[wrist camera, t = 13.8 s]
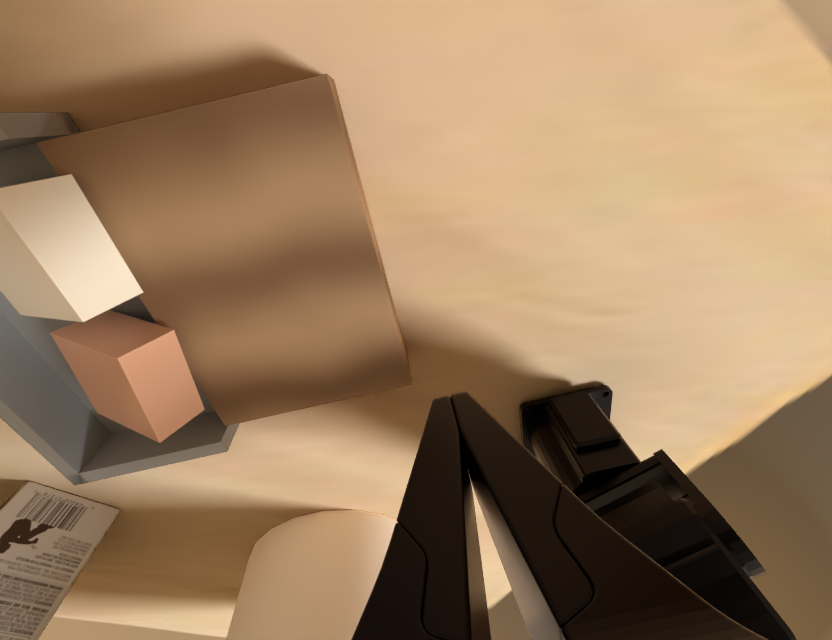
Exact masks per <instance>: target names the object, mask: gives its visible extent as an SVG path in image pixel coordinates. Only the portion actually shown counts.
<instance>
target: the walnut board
mask: <svg viewBox="0 0 832 640" xmlns="http://www.w3.org/2000/svg"><path fill="white" fill-rule="evenodd" d="M37 145H38V146H39V148H40V149H41V151H42V152H43V154H44V155H45V157H46V158H47V160H48V161H49V163H50V164H51V166H52V167H53V169H54V170H55V171H56V173H57V174H58V176H64V175H69V174H72V176H73V177H74V179H75V181H76V182H77V184H78V186H79V187H80V189H81V191H82V192H83V194H84V196H85V197H86V199H87V200H88V202H89V204H90V205H91V207H92V209H93V210H94V212H95V214H96V215H97V217H98V219H99V220H100V222H101V223H102V225H103V227H104V228H105V230H106V232H107V233H108V235H109V237H110V238H111V240H112V242H113V243H114V245H115V246H116V248H117V250H118V251H119V253H120V255H121V256H122V258H123V260H124V261H125V263H126V265H127V266H128V268H129V269H130V271H131V273H132V274H133V276H134V278H135V279H136V281H137V283H138V284H139V286H140V288H141V289H142V291H143V293H141V294H139V295H138V296H139V297H140V299H141V300H142V302H143V303H144V305H145V306H146V308H147V309H148V311H149V312H150V314H151V315H152V317H153V318H154V320H155V321H156V323H157V324H158V325H160V326H163V327H167V328H170V329H173V330H174V331H175V334H176V336H177V339H178V342H179V344H180V347H181V349H182V352H183V354H184V357H185V360H186V362H187V365H188V367H189V370H190V372H191V375H192V377H193V378H194V380H195V381H196V383H197V384H198V386H199V387H200V389H201V390H202V392H203V393H204V395H205V396H206V398H207V399H208V401H209V402H210V404H211V405H212V407H213V408H214V410H215V411H216V413H217V414H218V416H219V417H220V419H221V420H222V422H223V423H224V425H225V426H228V425H232V424H237V423H241V422H246V421H250V420H255V419H259V418H263V417H268V416H272V415H277V414H281V413H286V412H290V411H295V410H299V409H304V408H308V407H313V406H317V405H322V404H326V403H331V402H335V401H340V400H344V399H349V398H353V397H358V396H362V395H366V394H371V393H375V392H380V391H384V390H389V389H393V388H398V387H402V386H407V385H411V378H410V370H409V363H408V357H407V353H406V350H405V346H404V342H403V338H402V335H401V331H400V327H399V323H398V320H397V316H396V312H395V308H394V304H393V301H392V297H391V293H390V289H389V286H388V282H387V278H386V274H385V271H384V267H383V263H382V259H381V256H380V252H379V248H378V244H377V241H376V237H375V233H374V229H373V226H372V222H371V218H370V214H369V211H368V207H367V203H366V199H365V196H364V192H363V188H362V184H361V181H360V177H359V173H358V169H357V166H356V162H355V158H354V154H353V151H352V147H351V143H350V139H349V136H348V132H347V128H346V124H345V121H344V117H343V113H342V109H341V106H340V102H339V98H338V94H337V91H336V87H335V83H334V79H332V78H331V77H330V76H329V75H327V74H324V75H320V76H315V77H311V78H307V79H303V80H299V81H294V82H290V83H286V84H282V85H278V86H274V87H269V88H265V89H261V90H257V91H253V92H248V93H244V94H240V95H236V96H232V97H227V98H223V99H219V100H215V101H211V102H206V103H202V104H198V105H194V106H190V107H185V108H181V109H177V110H173V111H169V112H165V113H160V114H156V115H152V116H148V117H144V118H139V119H135V120H131V121H127V122H123V123H118V124H114V125H110V126H106V127H102V128H97V129H93V130H89V131H85V132H81V133H76V134H72V135H68V136H64V137H60V138H55V139H51V140H47V141H43V142H39V143H37Z"/></svg>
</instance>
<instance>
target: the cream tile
mask: <svg viewBox="0 0 832 640" xmlns="http://www.w3.org/2000/svg"><path fill="white" fill-rule="evenodd" d="M0 291H1V292H2V293H3V294H4V296H5V297H6V298H7V299H8V300H9V302H10V303H11V304H12V305H13V306H14V308H15V309H16V310H17V311H18V312H19V314H20V315H25V316H33V317H42V318H51V319H59V320H68V321H77V322H85V321H87V320H89V319H91V318H93V317H95V316H97V315H99V314H101V313H103V312H105V311H107V310H109V309H111V308H113V307H115V306H117V305H119V304H121V303H123V302H125V301H127V300H129V299H131V298H133V297H135V296H137V295H139V294H141V293H143V291H142V289H141V288H140V286H139V284H138V283H137V281H136V279H135V278H134V276H133V274H132V273H131V271H130V269H129V268H128V266H127V265H126V263H125V261H124V260H123V258H122V256H121V255H120V253H119V251H118V250H117V248H116V246H115V245H114V243H113V242H112V240H111V238H110V237H109V235H108V233H107V232H106V230H105V228H104V227H103V225H102V223H101V222H100V220H99V219H98V217H97V215H96V214H95V212H94V210H93V209H92V207H91V205H90V204H89V202H88V200H87V199H86V197H85V196H84V194H83V192H82V191H81V189H80V187H79V186H78V184H77V182H76V181H75V179H74V177H73V176H72V174H69V175H64V176H58V177H52V178H47V179H41V180H35V181H30V182H24V183H18V184H13V185H7V186H2V187H0Z"/></svg>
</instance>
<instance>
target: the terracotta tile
mask: <svg viewBox="0 0 832 640" xmlns="http://www.w3.org/2000/svg"><path fill="white" fill-rule="evenodd" d="M50 334H51V335H52V337H53V339H54V341H55V342H56V344H57V346H58V347H59V349H60V351H61V352H62V354H63V356H64V357H65V359H66V361H67V363H68V364H69V366H70V368H71V369H72V371H73V373H74V374H75V376H76V378H77V380H78V381H79V383H80V385H81V386H82V388H83V390H84V391H85V393H86V395H87V397H88V398H89V400H90V402H91V403H92V405H93V407H94V408H95V410H96V412H97V413H98V414H100V415H103V416H105V417H107V418H109V419H111V420H113V421H115V422H117V423H119V424H121V425H123V426H125V427H127V428H129V429H132V430H134V431H136V432H138V433H140V434H142V435H144V436H146V437H148V438H150V439H152V440H154V441H156V442H158V443H161V442H162V441H163V440H165V439H166V438H167V437H169V436H170V435H171V434H173V433H174V432H175V431H177V430H178V429H179V428H181V427H182V426H183V425H185V424H186V423H187V422H189V421H190V420H191V419H193V418H194V417H195V416H197V415H198V414H199V413H201V412H202V411H203V410H205V409H204V406H203V403H202V401H201V398H200V396H199V393H198V391H197V388H196V385H195V383H194V380H193V378H192V375H191V372H190V370H189V367H188V365H187V362H186V360H185V357H184V354H183V352H182V349H181V347H180V344H179V342H178V339H177V336H176V334H175V331H174V330H173V329H170V328H167V327H163V326H160V325H157V324H154V323H151V322H147V321H144V320H141V319H138V318H134V317H131V316H128V315H125V314H121V313H118V312H115V311H112V310H107V311H105V312H103V313H101V314H99V315H97V316H95V317H93V318H91V319H89V320H87V321H85V322H75V323H73V324H70V325H68V326H65V327H63V328H60V329H58V330H55V331H53V332H50Z"/></svg>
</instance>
